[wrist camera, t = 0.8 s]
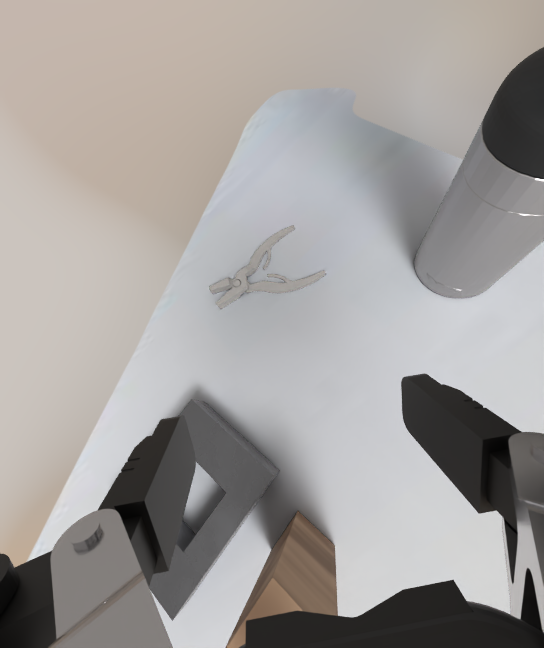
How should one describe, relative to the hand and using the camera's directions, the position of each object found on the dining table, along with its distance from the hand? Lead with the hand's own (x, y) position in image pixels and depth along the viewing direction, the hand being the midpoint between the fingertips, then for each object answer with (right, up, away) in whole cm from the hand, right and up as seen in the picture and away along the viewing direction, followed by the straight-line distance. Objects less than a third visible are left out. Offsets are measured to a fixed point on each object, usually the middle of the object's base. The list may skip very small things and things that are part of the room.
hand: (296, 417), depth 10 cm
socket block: (-9, -15, +21) cm, 28 cm away
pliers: (-2, +10, +30) cm, 32 cm away
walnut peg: (+2, -19, +18) cm, 26 cm away
